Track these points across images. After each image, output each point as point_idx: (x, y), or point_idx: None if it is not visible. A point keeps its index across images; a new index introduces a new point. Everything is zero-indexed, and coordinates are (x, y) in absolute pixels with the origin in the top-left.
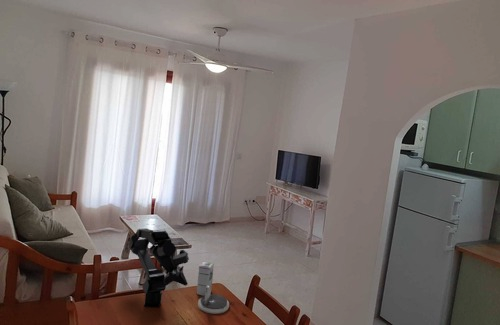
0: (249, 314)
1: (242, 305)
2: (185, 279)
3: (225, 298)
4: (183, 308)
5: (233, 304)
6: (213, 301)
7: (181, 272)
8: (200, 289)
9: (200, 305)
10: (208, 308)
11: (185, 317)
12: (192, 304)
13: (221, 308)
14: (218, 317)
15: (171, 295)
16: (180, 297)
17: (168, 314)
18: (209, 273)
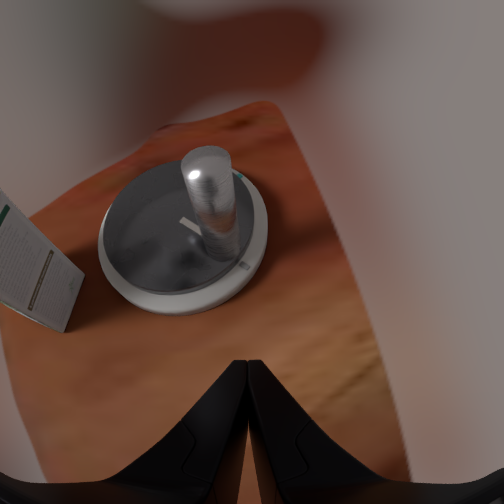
0: (237, 112)
1: (169, 134)
2: (233, 394)
3: (149, 170)
4: None
5: (161, 160)
6: (188, 216)
7: (406, 501)
8: (52, 303)
9: (224, 289)
10: (251, 241)
11: (350, 361)
12: (181, 349)
13: None
14: (296, 200)
15: (98, 478)
16: (108, 428)
17: None
18: (4, 193)
